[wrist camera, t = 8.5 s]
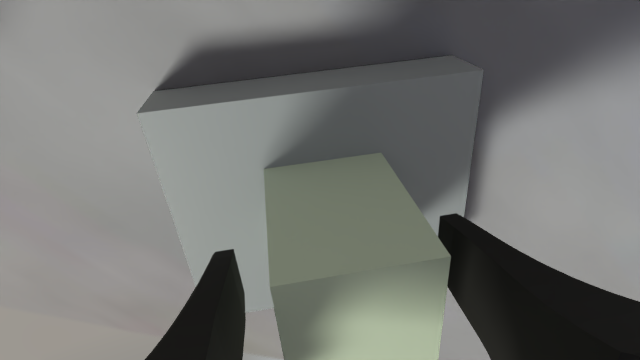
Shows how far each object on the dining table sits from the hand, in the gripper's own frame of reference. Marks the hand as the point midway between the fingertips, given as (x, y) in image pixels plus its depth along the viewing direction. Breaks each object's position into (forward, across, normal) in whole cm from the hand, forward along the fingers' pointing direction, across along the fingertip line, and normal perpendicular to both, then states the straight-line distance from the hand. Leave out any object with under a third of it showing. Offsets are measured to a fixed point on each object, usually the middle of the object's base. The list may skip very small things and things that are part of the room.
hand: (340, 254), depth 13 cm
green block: (+3, 0, 0) cm, 3 cm away
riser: (+5, 0, 0) cm, 5 cm away
